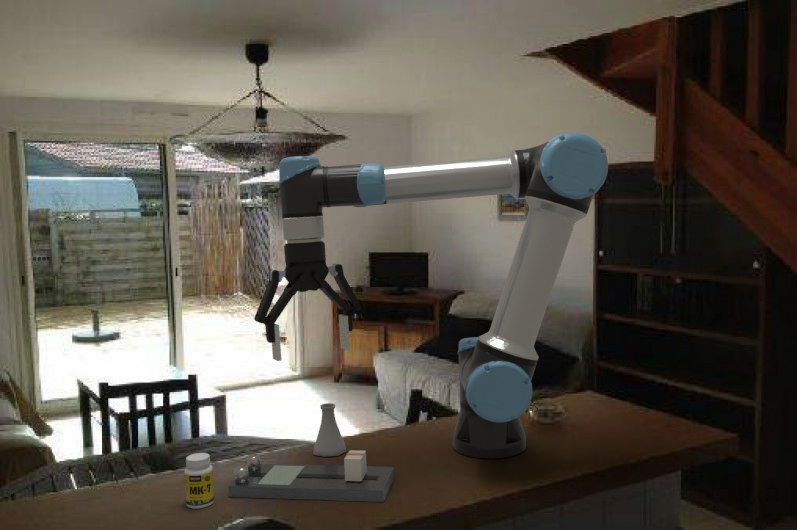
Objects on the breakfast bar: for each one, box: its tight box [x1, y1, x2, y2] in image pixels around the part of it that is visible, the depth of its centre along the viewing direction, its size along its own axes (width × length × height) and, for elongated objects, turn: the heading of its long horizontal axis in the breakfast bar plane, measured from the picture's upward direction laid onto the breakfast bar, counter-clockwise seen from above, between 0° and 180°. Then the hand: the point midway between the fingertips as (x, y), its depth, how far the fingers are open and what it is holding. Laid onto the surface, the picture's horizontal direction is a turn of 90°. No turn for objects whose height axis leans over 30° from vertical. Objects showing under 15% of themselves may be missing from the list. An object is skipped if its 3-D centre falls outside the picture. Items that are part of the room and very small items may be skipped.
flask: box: [312, 402, 347, 458], centre depth 143 cm, size 7×7×10 cm
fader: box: [343, 449, 367, 481], centre depth 123 cm, size 3×4×4 cm
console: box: [228, 453, 395, 503], centre depth 125 cm, size 28×11×5 cm, turn 81°
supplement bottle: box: [184, 452, 215, 510], centre depth 119 cm, size 5×5×8 cm
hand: (312, 354), depth 129 cm, fingers open, 13 cm apart
